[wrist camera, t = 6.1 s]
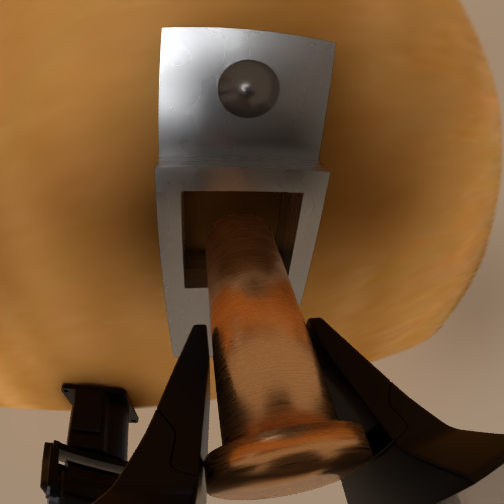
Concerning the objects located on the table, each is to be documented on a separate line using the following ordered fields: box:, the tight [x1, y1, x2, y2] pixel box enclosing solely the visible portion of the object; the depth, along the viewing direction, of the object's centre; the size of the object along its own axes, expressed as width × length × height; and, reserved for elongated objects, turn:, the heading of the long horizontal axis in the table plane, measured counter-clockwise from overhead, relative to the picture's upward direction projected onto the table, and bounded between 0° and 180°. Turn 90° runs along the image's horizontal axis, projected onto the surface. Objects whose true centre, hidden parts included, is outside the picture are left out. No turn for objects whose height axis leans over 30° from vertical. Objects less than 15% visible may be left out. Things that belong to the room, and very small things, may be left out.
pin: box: [204, 213, 373, 500], centre depth 10 cm, size 4×4×10 cm
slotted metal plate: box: [155, 27, 336, 357], centre depth 15 cm, size 17×7×4 cm, turn 175°
